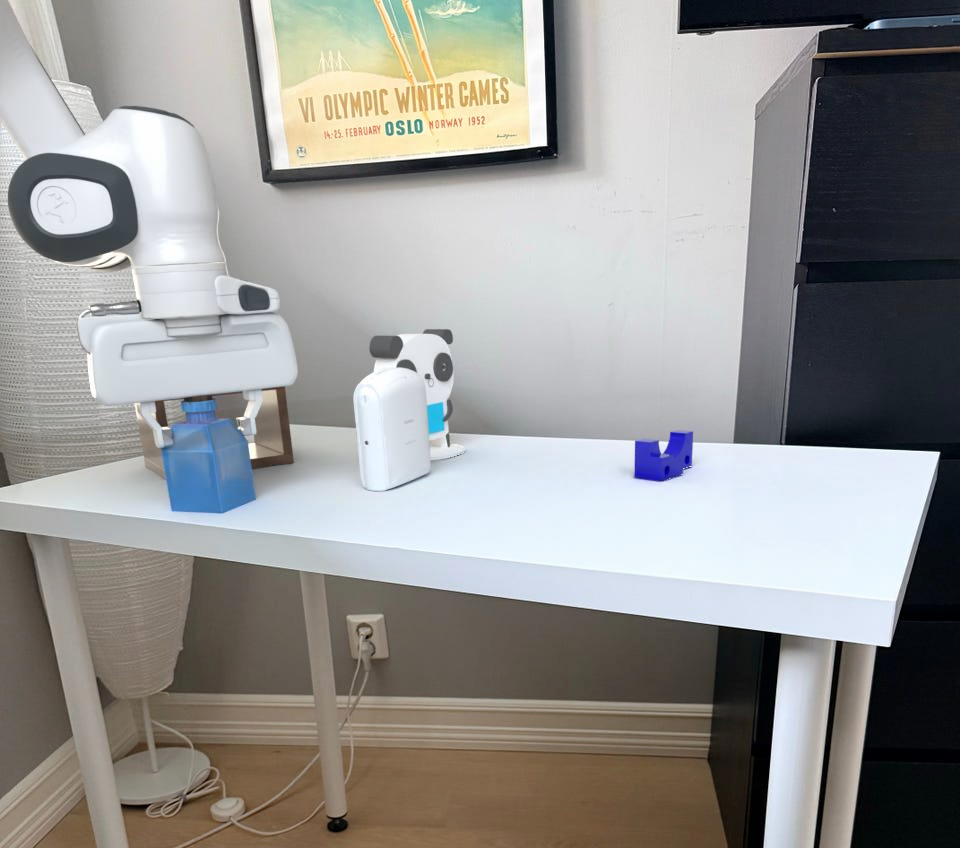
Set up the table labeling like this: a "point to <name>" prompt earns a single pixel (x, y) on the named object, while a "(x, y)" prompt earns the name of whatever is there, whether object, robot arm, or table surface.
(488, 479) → the table surface
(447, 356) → the panda figurine
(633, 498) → the table surface
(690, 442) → the cable holder
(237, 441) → the perfume bottle
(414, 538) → the table surface
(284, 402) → the shelf rack
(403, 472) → the photo printer
